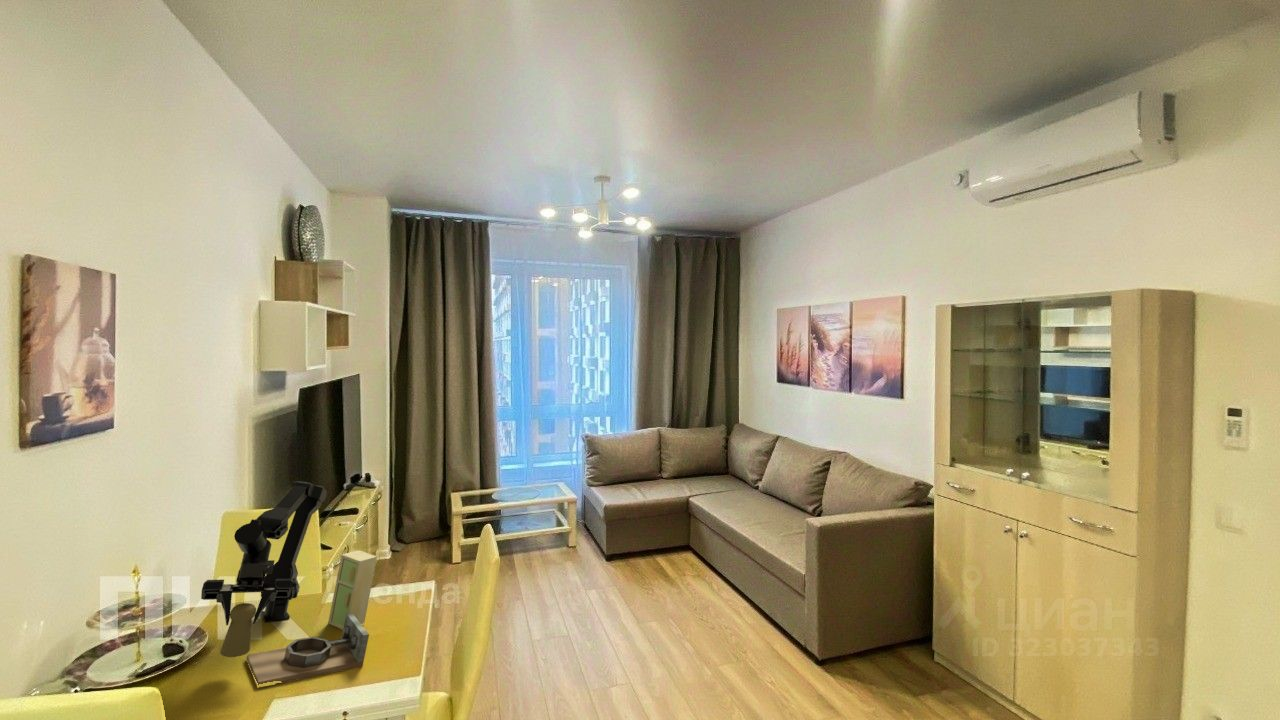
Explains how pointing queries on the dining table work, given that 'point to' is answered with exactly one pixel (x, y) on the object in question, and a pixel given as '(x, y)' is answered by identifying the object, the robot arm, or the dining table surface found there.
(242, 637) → the cork
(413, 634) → the dining table surface
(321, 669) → the wooden peg base
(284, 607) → the robot arm
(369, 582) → the toy refrigerator
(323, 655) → the clip ring
